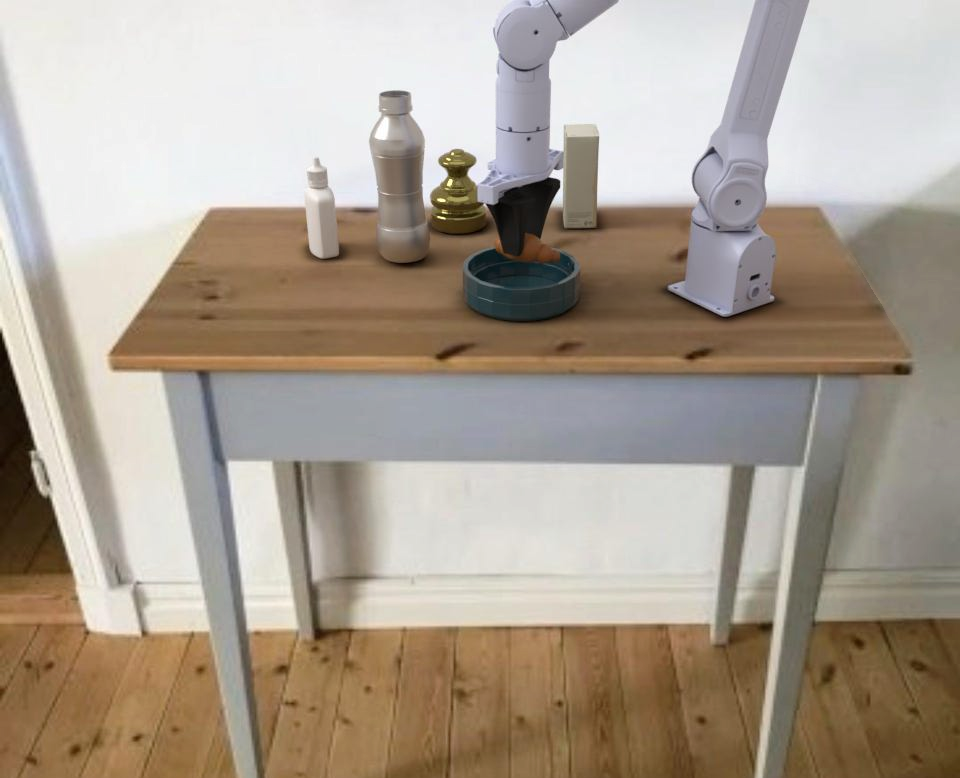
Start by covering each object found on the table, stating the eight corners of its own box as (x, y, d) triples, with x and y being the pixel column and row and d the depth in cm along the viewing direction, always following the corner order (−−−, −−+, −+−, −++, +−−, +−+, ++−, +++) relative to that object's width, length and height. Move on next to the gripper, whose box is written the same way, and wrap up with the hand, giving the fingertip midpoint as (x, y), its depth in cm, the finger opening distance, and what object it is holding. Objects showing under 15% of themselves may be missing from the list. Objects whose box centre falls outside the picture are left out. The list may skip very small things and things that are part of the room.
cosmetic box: (596, 229, 141) (601, 136, 134) (562, 229, 141) (565, 136, 134) (593, 212, 146) (597, 122, 140) (560, 212, 146) (563, 123, 140)
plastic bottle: (424, 270, 130) (416, 102, 119) (370, 267, 131) (358, 100, 120) (436, 251, 135) (430, 88, 124) (385, 247, 136) (374, 86, 125)
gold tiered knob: (491, 232, 140) (491, 157, 135) (435, 237, 139) (433, 161, 134) (480, 213, 146) (479, 140, 141) (426, 218, 145) (424, 144, 140)
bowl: (602, 304, 121) (604, 271, 119) (506, 333, 115) (507, 299, 113) (533, 267, 130) (533, 236, 128) (441, 292, 124) (440, 260, 122)
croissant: (545, 272, 117) (546, 245, 115) (481, 257, 121) (481, 230, 119) (562, 262, 120) (563, 234, 118) (498, 246, 124) (498, 220, 122)
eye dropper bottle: (346, 243, 138) (338, 150, 131) (336, 260, 133) (328, 165, 126) (312, 242, 138) (303, 150, 131) (302, 259, 133) (292, 164, 127)
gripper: (526, 104, 119) (524, 222, 126) (452, 136, 109) (455, 261, 116) (581, 113, 116) (577, 233, 123) (510, 147, 106) (509, 275, 113)
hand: (521, 248), depth 119 cm, fingers closed on croissant, 3 cm apart
